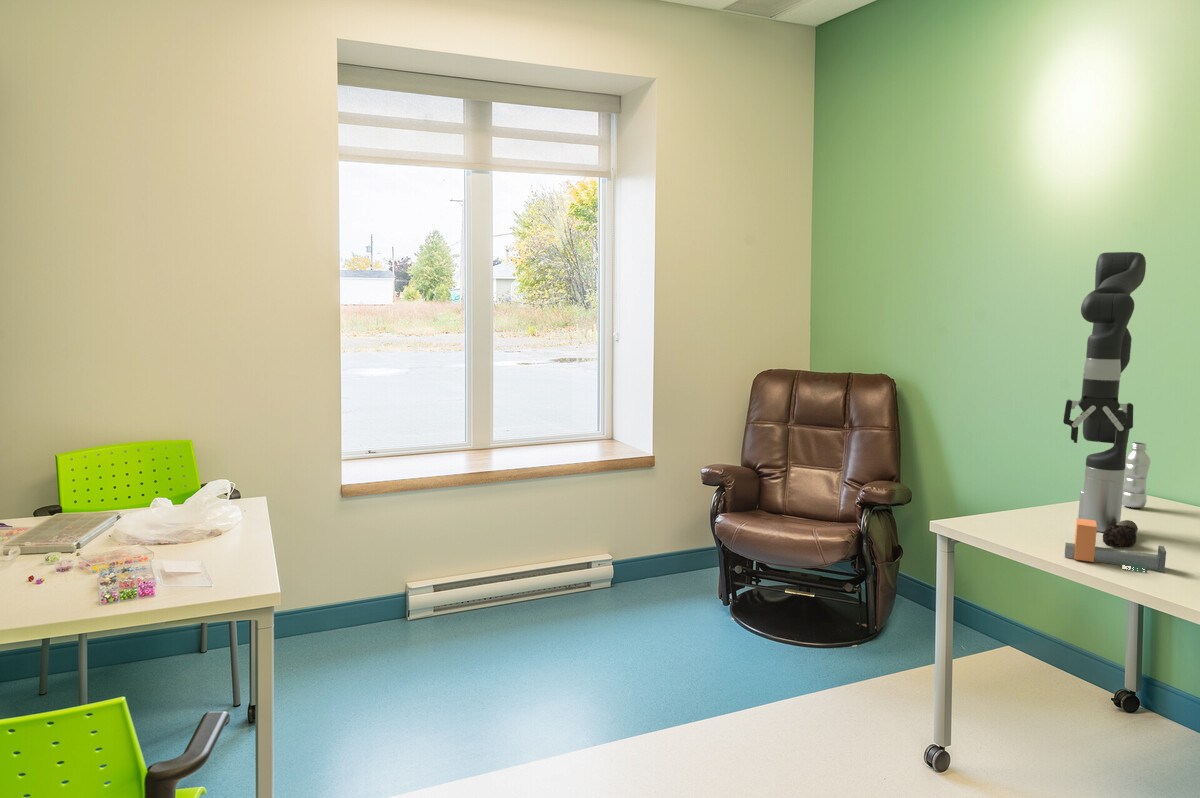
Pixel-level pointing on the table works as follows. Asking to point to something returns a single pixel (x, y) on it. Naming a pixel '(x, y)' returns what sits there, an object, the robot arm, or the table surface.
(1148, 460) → the plastic bottle
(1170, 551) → the table surface
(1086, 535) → the sleeve
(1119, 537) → the dark brown rough lump
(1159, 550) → the bar
